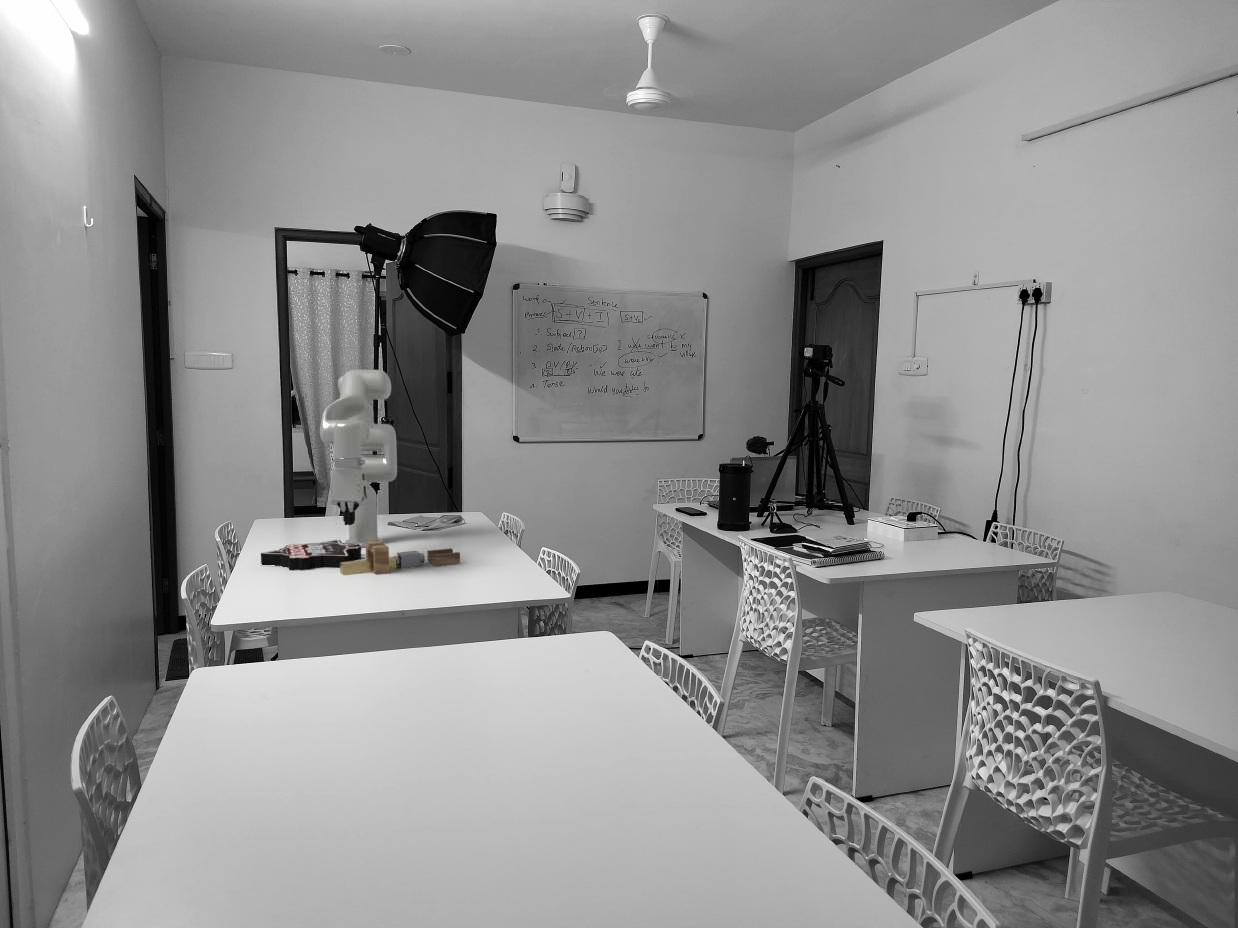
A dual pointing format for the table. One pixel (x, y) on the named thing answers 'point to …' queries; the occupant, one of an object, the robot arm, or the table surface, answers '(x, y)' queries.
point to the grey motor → (409, 559)
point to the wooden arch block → (378, 556)
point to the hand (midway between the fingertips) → (349, 524)
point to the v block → (443, 557)
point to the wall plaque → (312, 555)
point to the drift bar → (362, 566)
